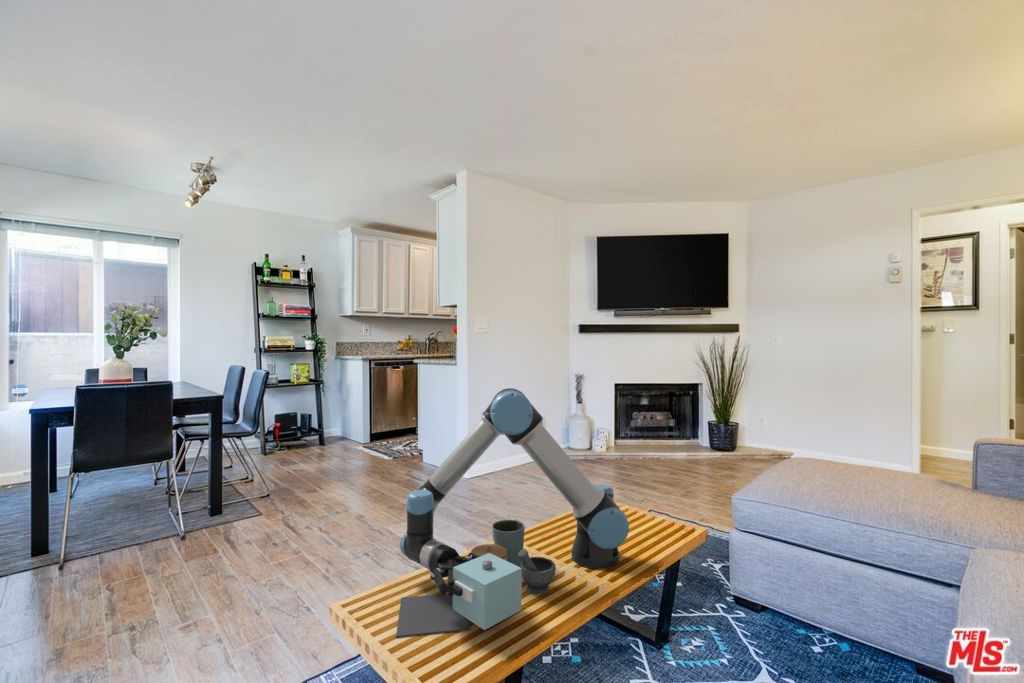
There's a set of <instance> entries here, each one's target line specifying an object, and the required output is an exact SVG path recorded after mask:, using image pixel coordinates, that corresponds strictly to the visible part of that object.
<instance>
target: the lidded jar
mask: <svg viewBox="0 0 1024 683" xmlns="http://www.w3.org/2000/svg"><path fill="white" fill-rule="evenodd" d="M470 553H473V554H476V555H480V556H483V555H485V554H488V553H491V554H493V555H495V556H497V557H499V558H501V559H503V560H505V561H507V550H506V548H504V547H503V546H500V545H495V544H494V543H493V544H492V543H491V544H490V543H488V544H487V543H486V544H481V545H478V546H475V547H473V548H472V549H471V550H470Z"/></svg>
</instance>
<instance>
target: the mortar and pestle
mask: <svg viewBox="0 0 1024 683" xmlns="http://www.w3.org/2000/svg"><path fill="white" fill-rule="evenodd" d="M518 556H519V558H520V559H521V560H522V562H521V564H520V568H522V580H523V582H524V583H525V584H526V591H527V593H528V594H530V595H531V594H532V595H533V596H543V595H546V594H548V592H549V590H550V584H551V583H552V581H553V579H554V577H555V575H556V563H554V561H553V559H550V558H546V557H543V556H530V555H529V552H528V550H527V549H525V548H523V550H521V551H520V552H519V553H518Z"/></svg>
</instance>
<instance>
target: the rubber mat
mask: <svg viewBox="0 0 1024 683" xmlns="http://www.w3.org/2000/svg"><path fill="white" fill-rule="evenodd" d="M399 604H400V606H399V611H398V612H399V613H398V617H397V618H398V619H397V625H396V627H397V628H396V634H395V638H407V637H415V636H424V635H433V634H434V635H435V634H446V633H453V632H454V633H455V632H464V631H470V620H468V619H467V618H465V617H464V616H462V615H461V614H459V613H458V612H456V611H455V610H453V596H451V597H450V596H448V593H446V594H445V595H441V594H440V593H439V594H437V593H436V594H428V595H427V594H426V595H425V594H424V595H417V596H415V595H414V596H406V597H401V598H400V603H399Z"/></svg>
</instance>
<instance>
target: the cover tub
mask: <svg viewBox="0 0 1024 683" xmlns="http://www.w3.org/2000/svg"><path fill="white" fill-rule="evenodd" d="M522 580H523V578H522V568H520V567H518V566H516V565H514V564H512V563H510V562H508V561H505V560H503V559H501V558H499V557H497V556H495V555H493V554H491V553H488V554H485V555H483V556H480V557H478V558H475V559H473V560H470V561H468V562H465V563H463V564H460V565H458V566H455V567H453V584H454V582H455V581H459V582H460V583H462V584H464V585H465V586H467V587H469V588H471V589H472V590H474V603H470V602H468V601H467V600H465V599H463V598H462V597H460V596H456V595H455V594H453V610H455V611H456V612H458V613H459V614H461V615H462V616H464V617H465V618H467V619H468V620H469V622H472V623H473V624H475V625H476V626H478V627H480V629H482V630H483V631H486V630H487V629H489V628H491V626H492V627H493V626H495V625H496V624H499V623H500V622H502V621H503V620H506V619H507V618H510V617H511V616H513V615H514V614H517V613H518V612H521V611H522V584H523V583H522V582H523V581H522Z"/></svg>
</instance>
